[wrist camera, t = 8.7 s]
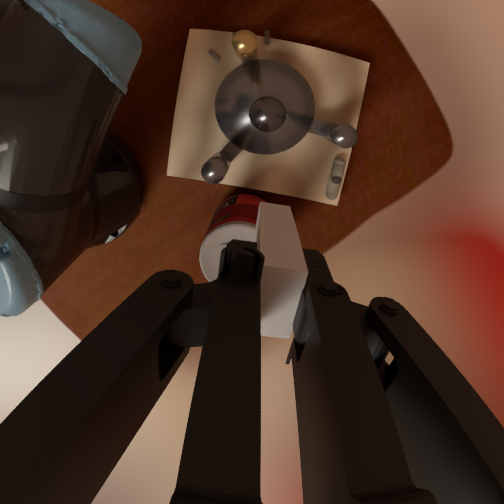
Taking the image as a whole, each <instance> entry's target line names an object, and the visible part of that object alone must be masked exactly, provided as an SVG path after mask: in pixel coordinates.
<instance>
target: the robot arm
mask: <svg viewBox="0 0 504 504" xmlns="http://www.w3.org/2000/svg"><path fill="white" fill-rule="evenodd" d="M141 51H142V42H141V39H140V37H139V35H138V33H137V32H136V31H135V30H134V29H133V28H132V27H131V26H130V25H129V24H127V23H126V22H125V21H123V20H122V19H120V18H119V17H117V16H116V15H114V14H112V13H111V12H109V11H107V10H106V9H104V8H102V7H100V6H98V5H97V4H95V3H93V2H91V1H89V0H0V316H4V317H9V316H17V315H19V314H21V313H23V312H24V311H25V310H26V309H28V308H29V307H30V306H31V305H32V304H33V303H35V302H36V301H38V300H39V299H40V298H41V297H42V295H43V293H44V292H45V291H46V290H47V289H48V288H49V286H50V285H51V284H52V283H53V282H54V281H55V280H56V279H57V278H58V277H59V276H60V275H61V274H62V273H63V272H64V271H65V270H66V269H67V268H68V267H69V266H70V265H71V264H72V263H73V262H74V261H75V260H76V259H77V258H78V257H79V256H80V255H81V254H82V253H83V252H84V251H85V250H86V249H87V248H91V247H95V246H99V245H103V244H106V243H109V242H111V241H113V240H115V239H116V238H118V237H119V236H120V235H122V234H123V233H124V232H125V231H126V230H127V229H128V228H129V227H130V225H131V224H132V223H133V222H134V220H135V218H136V217H137V215H138V212H139V210H140V207H141V203H142V196H143V184H142V177H141V173H140V170H139V167H138V164H137V162H136V160H135V158H134V156H133V155H132V153H131V152H130V151H129V149H128V148H127V147H126V146H125V145H124V144H123V143H122V142H121V141H119V140H118V139H117V138H115V137H113V136H111V135H109V134H107V131H108V129H109V126H110V124H111V122H112V119H113V117H114V115H115V112H116V110H117V108H118V106H119V104H120V101H121V99H122V97H123V95H126V93H127V90H128V88H127V85H128V82H129V80H130V77H131V75H132V73H133V71H134V68H135V66H136V64H137V62H138V60H139V58H140V55H141ZM292 329H293V331H294V338H293V342H292V344H291V347H290V351H289V354H288V357H287V361H286V364H289V363H290V360H291V359H292V366H293V377H294V387H295V399H296V409H297V421H298V433H299V446H300V459H301V472H302V487H303V503H304V504H504V428H503V426H502V425H501V424H500V422H499V421H498V420H497V418H496V417H495V416H494V414H493V413H492V412H491V411H490V409H489V408H488V407H487V405H486V404H485V403H484V401H483V400H482V399H481V397H480V396H479V395H478V394H477V392H476V391H475V390H474V389H473V387H472V386H471V385H470V384H469V382H468V381H467V380H466V379H465V377H464V376H463V375H462V374H461V373H460V371H459V370H458V369H457V368H456V366H454V364H453V363H452V362H451V360H450V359H449V358H448V357H447V356H446V355H445V353H444V352H443V351H442V350H441V349H440V347H439V346H438V345H437V344H436V343H435V342H434V341H433V339H432V338H431V337H430V336H429V335H428V334H427V333H426V331H425V330H424V329H423V328H422V327H421V326H420V325H419V323H418V322H417V321H416V320H415V319H414V318H413V317H412V316H411V315H410V314H409V312H408V311H407V310H406V309H405V308H404V307H403V306H402V305H400V303H398V302H396V301H394V300H393V299H391V298H390V299H389V298H387V297H376V298H373V299H372V300H371V302H370V304H369V307H368V306H364V305H361V304H358V303H355V302H352V301H351V300H350V298H349V296H348V293H347V291H346V290H345V288H343V287H342V286H341V285H339V284H337V283H335V282H334V281H333V278H332V276H331V273H330V271H329V269H328V265H327V263H326V260H325V258H324V256H323V255H322V254H321V253H320V252H318V251H317V250H311V249H304V248H302V247H301V243H300V240H299V236H298V232H297V229H296V225H295V222H294V218H293V215H292V211H291V208H290V206H285V205H279V204H273V203H266V202H260V204H259V210H258V216H257V222H256V228H255V234H254V240H253V242H251V241H244V240H237V239H232V240H231V241H230V242H228V243H227V245H226V247H225V248H223V249H222V251H221V255H220V263H219V272H218V278H217V279H215V280H213V281H211V282H208V283H202V284H194V283H193V279H192V278H191V277H190V276H189V275H188V274H186V273H184V272H181V271H176V270H164V271H159V272H157V273H155V274H153V275H152V276H151V277H150V278H148V279H147V280H146V281H145V282H144V283H143V284H142V285H141V286H140V287H139V288H137V289H136V290H135V291H134V292H133V293H132V294H131V295H130V296H129V297H128V298H127V299H125V300H124V301H123V302H122V303H121V304H120V305H119V306H118V307H117V308H116V309H115V310H114V311H113V312H111V313H110V314H109V315H108V316H107V317H106V318H105V319H104V320H103V321H102V322H101V323H100V324H99V325H98V326H97V327H96V328H95V329H93V330H92V331H91V332H90V333H89V334H88V335H87V336H86V337H85V338H84V339H83V340H82V341H81V342H80V343H79V344H78V345H77V346H76V347H75V348H74V349H73V350H72V351H71V352H70V353H69V354H68V355H67V356H66V357H65V358H64V359H63V360H62V361H61V362H60V363H59V364H58V365H57V366H56V367H55V368H54V369H53V370H52V371H51V372H50V373H49V374H48V375H47V376H46V377H45V378H44V379H43V380H42V381H41V382H40V383H39V384H38V385H37V386H36V387H35V388H34V389H33V390H32V391H31V392H30V393H29V394H28V395H27V396H26V397H25V398H24V399H23V400H22V402H21V403H20V404H19V405H18V406H17V407H16V408H15V409H14V410H13V411H12V412H11V413H10V414H9V415H8V416H7V418H6V419H5V420H4V421H3V422H2V423H1V424H0V504H91V503H92V501H93V499H94V498H95V496H96V495H97V493H98V492H99V490H100V489H101V487H102V486H103V484H104V483H105V481H106V479H107V478H108V476H109V475H110V473H111V472H112V470H113V469H114V467H115V466H116V464H117V462H118V461H119V459H120V458H121V456H122V455H123V453H124V452H125V450H126V449H127V447H128V446H129V444H130V442H131V441H132V439H133V438H134V436H135V435H136V433H137V432H138V430H139V429H140V427H141V425H142V424H143V422H144V421H145V419H146V418H147V416H148V415H149V413H150V411H151V410H152V408H153V407H154V405H155V403H156V402H157V401H158V399H159V398H160V396H161V395H162V393H163V391H164V390H165V388H166V387H167V385H168V384H169V382H170V381H171V379H172V377H173V376H174V374H175V373H176V371H177V370H178V368H179V367H180V365H181V363H182V362H183V361H184V359H185V357H186V356H187V354H188V353H189V350H190V347H198V346H203V347H202V353H201V357H200V362H199V367H198V372H197V377H196V382H195V387H194V392H193V397H192V402H191V407H190V412H189V418H188V423H187V428H186V433H185V439H184V444H183V450H182V455H181V460H180V466H179V472H178V478H177V483H176V488H175V491H174V493H173V495H172V497H171V501H170V504H263V503H262V502H261V497H260V459H261V457H260V453H261V336H270V337H279V338H288V339H289V338H290V336H291V331H292ZM389 351H390V352H391V354H392V355H393V356H394V359H393V361H392V362H391V364H390V365H388V364H387V362H386V361H385V358H386V357H387V355H388V353H389Z"/></svg>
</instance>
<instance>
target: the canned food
mask: <svg viewBox="0 0 504 504" xmlns="http://www.w3.org/2000/svg"><path fill="white" fill-rule="evenodd" d="M260 202H266V201H265V200H263V199H262V198H260V197H258V196H255V195H251V194H237V195H233V196H231V197H228V198H227V199H225V200H224V201H223V202H222V203H221V204H220V205H219V206H218V208H217V210H216V212H215V214H214V216H213V218H212V221H211V223H210V225H209V228H208V230H207V232H206V234H205V237H204V240H203V242H202V245H201V249H200V258H199V260H200V266H201V269H202V271H203V274H204V275H205V277H206V278H207V280H208V281H209V282H211V281H213V280H215V279H217V278H218V272H219V263H220V255H221V251H222V249H223V248H225V247H226V245H227V243H228V242H230V241H231V240H232V239H237V240H244V241H251V242H253V240H254V234H255V228H256V222H257V216H258V210H259V204H260ZM266 203H267V202H266Z"/></svg>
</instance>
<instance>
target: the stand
mask: <svg viewBox="0 0 504 504" xmlns="http://www.w3.org/2000/svg"><path fill="white" fill-rule="evenodd" d="M237 32H238V31H237ZM235 33H236V32H225V31H215V30H203V29H190V31H189V36H188V41H187V45H186V50H185V56H184V61H183V66H182V72H181V77H180V83H179V89H178V95H177V101H176V108H175V114H174V121H173V128H172V136H171V144H170V152H169V160H168V169H167V175H168V176H175V177H182V178H189V179H196V180H202V181H205V180H204V179H203V177H202V175H201V169H202V166H203V165H204V163H205V162H206V161H207V160H209V159H210V158H211V157H212V156H213V155H214V154H215V153H218V152H220V151H221V150H222V149H223V148H224V147H225V146H226V145H227V144H228V142H229V141H230V140H229V139H228V138H227V137H226V136H225V135H224V134H223V132H222V131H221V129H220V127H219V125H218V122H217V119H216V115H215V98H216V94H217V91H218V88H219V86H220V84H221V83H222V81H223V79H224V78H225V77H226V76H227V75H228V74H229V73H230V72H231V71H232V70H233V69H235V68H236V67H238V66H240V65H242V64H243V63H242V60H241V59H239V58H238V57H237V55H236V53H235V51H234V48H233V46H232V44H231V39H232V37H233V35H234V34H235ZM256 37H257V42H258V54H257V57H258V60H259V59H271V60H276V61H280V62H283V63H285V64H288V65H290V66H291V67H293V68H294V69H296V70H297V71H298V72H299V73H301V75H302V76H303V77H304V78H305V79H306V81H307V82H308V83H309V85H310V87H311V89H312V92H313V95H314V99H315V115H314V118H315V119H318V120H322V121H325V122H328V123H329V122H338V123H343V124H348V125H351V126H352V127H354V128H355V130H356V128H357V123H358V119H359V114H360V110H361V105H362V100H363V95H364V91H365V86H366V81H367V75H368V70H369V65H370V63H368V62H365V61H362V60H359V59H356V58H353V57H349V56H346V55H343V54H339V53H335V52H332V51H328V50H324V49H320V48H316V47H312V46H308V45H304V44H299V43H294V42H290V41H285V40H279V39H274V38H270V30H265V37H262V36H256ZM351 149H352V147H351V148H341V147H339V146H337V145H336V144H334V143H332V142H330V141H328V140H327V139H326V138H325V137H323V136H319V135H316V134H312V133H309V132H308V133H307V134H306V136H305V137H304V138H303V139H302V140H301V141H300V142H299V143H298V144H296V145H295V146H293V147H292V148H290V149H288V150H286V151H283V152H280V153H276V154H268V155H263V154H255V153H251V152H247V151H245V150H242V151H241V152H240V153H239V154H238V155H237V156H236V158H235V159H234V160H233V161H232V162H231V165H230V168H229V170H228V172H227V173H226V175H225V177H224V179H223V180H222V181H221V182H219V183H221V184H227V185H233V186H239V187H245V188H250V189H256V190H261V191H267V192H272V193H277V194H283V195H288V196H293V197H298V198H303V199H308V200H313V201H317V202H322V203H327V204H331V205H336V206H337V204H338V201H339V197H340V193H341V189H342V186H343V182H344V178H345V174H346V170H347V166H348V162H349V158H350V154H351Z"/></svg>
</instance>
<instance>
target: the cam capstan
mask: <svg viewBox="0 0 504 504" xmlns="http://www.w3.org/2000/svg"><path fill="white" fill-rule="evenodd" d="M231 44H232V46H233V48H234V51H235V53H236V55H237V57H238V58H239V59H241V60H242V63H243V64H242V65H240V66H238V67H236V68H235V69H233V70H232V71H231V72H230V73H229V74H228V75H227V76H226V77H225V78H224V79H223V81H222V83H221V84H220V86H219V88H218V91H217V94H216V98H215V115H216V119H217V122H218V125H219V127H220V129H221V131H222V132H223V134H224V135H225V136H226V137H227V138H228V139H229V140H230V141H229V142H228V144H227V145H226V146H225V147H224V148H223V149H222V150H221V151H220V152H218V153H215V154H214V155H213V156H212V157H211V158H210V159H209V160H207V161H206V162H205V163H204V165H203V166H202V169H201V175H202V177H203V179H204V180H205V181H206V182H208V183H211V184H216V183H219V182H221V181H222V180H223V179H224V177H225V175H226V173H227V172H228V170H229V168H230V165H231V162H232V161H233V160H234V159H235V158H236V156H237V155H238V154H239V153H240V152H241V151H242V150H245V151H247V152H251V153H255V154H263V155H268V154H276V153H280V152H283V151H286V150H288V149H290V148H292V147H293V146H295V145H296V144H298V143H299V142H300V141H301V140H302V139H303V138H304V137H305V136H306V134H307V133H308V132H309V133H312V134H316V135H319V136H323V137H325V138H326V139H327V140H328V141H330V142H332V143H334V144H336V145H337V146H339V147H341V148H351V147H353V146H354V145H355V144H356V142H357V139H358V135H357V131H356V130H355V128H354V127H352V126H351V125H348V124H343V123H338V122H329V123H328V122H325V121H322V120H318V119H315V118H314V115H315V99H314V95H313V92H312V89H311V87H310V85H309V83H308V82H307V81H306V79H305V78H304V77H303V76H302V75H301V73H299V72H298V71H297V70H296V69H294V68H293V67H291V66H290V65H288V64H285V63H283V62H280V61H276V60H271V59H259V60H258V57H257V54H258V42H257V37H256V35H255V34H254V33H253V32H251V31H249V30H240V31H238V32H236V33H235V34H234V35H233V37H232V39H231Z"/></svg>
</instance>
